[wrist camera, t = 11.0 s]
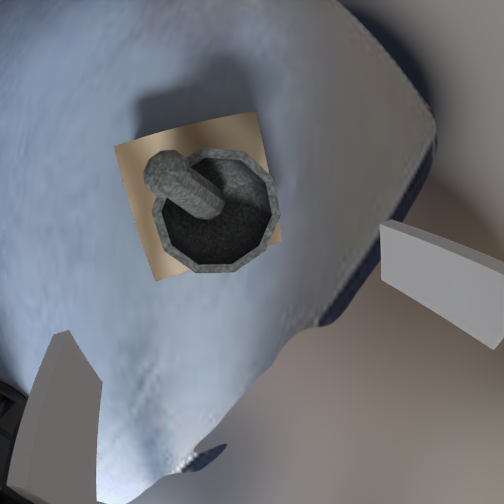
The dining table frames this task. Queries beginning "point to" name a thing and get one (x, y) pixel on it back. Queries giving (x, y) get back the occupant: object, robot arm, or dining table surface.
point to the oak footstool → (186, 143)
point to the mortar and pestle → (212, 207)
